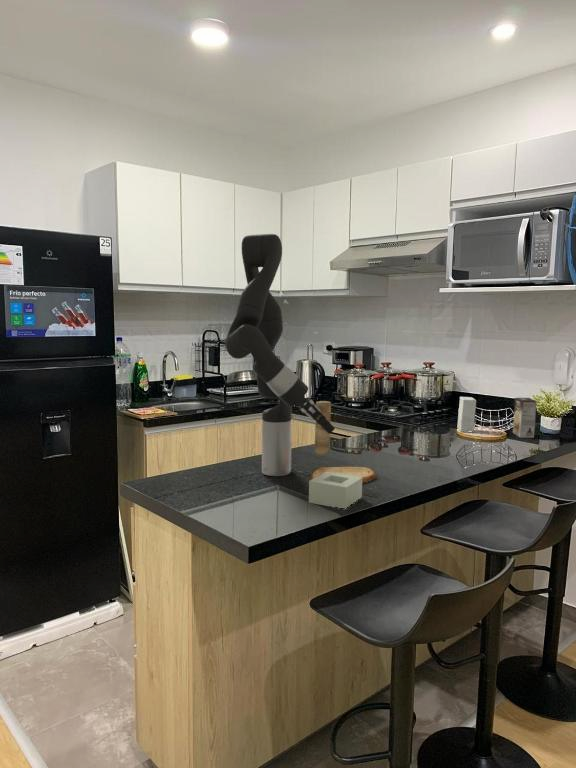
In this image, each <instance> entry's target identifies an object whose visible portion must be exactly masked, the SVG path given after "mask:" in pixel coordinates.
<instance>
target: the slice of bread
mask: <svg viewBox="0 0 576 768" xmlns="http://www.w3.org/2000/svg"><path fill="white" fill-rule="evenodd" d="M325 472H332V473H338V474H344V475H350V476H356V477H362V484H364V483H363V482H366V483H369V482H368V481H370V482H372V481H374V480H376V474H375V472H374V471H373V470H372V469H371V468H369V467H365V466H364V467H362V466H332V467H328V466H327V467H325V466H324V467H323V466H322V467H320V468H318V469H316V470H315V471H314V472H313V473H312V475H311V477H310V480H312V479H314V478H316V477H318V476H319V475H321V474H323V473H325ZM373 479H374V480H373ZM371 480H372V481H371Z"/></svg>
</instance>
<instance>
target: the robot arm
mask: <svg viewBox="0 0 576 768" xmlns="http://www.w3.org/2000/svg"><path fill="white" fill-rule="evenodd" d="M241 257H242V263H243V267H244V268H243V269H244V273H245V279H246V284H247V285H246V286H245V288H244V289H243V290H242V292H241V294H240V296H239V300H238V303H237V304H238V305H237V309H236V312H235V313H236V314H235V317H234V319H233V321H232V323H231V325H230V328H229V330H228V332H227V335H226V337H225V338H226V339H225V349H226V352H227V353H228V355H229V356H230V357H232V358H233V359H236V360H237V359H238V360H240V359H243V358H246V357H248V356H249V355H250V354H251V355H252V358H253V360H254V361H253V362H254V363H253V364H252V370H253V372H254V373H255V374H256V384H257V385H256V386H257V392H258V394H259V396H260V397H261V398H264V399H273V400H278V404H277V405H275V406H273V407H271V408H267V409H265V410H263V412H262V414H261V415H262V416H261V421H262V423H261V425H262V426H261V473H262V475H266V476H270V477H283V476H287V475H290V474H291V471H292V442H291V441H292V413H293V407H294V406H295V405H298V406H297V407H298V409H299V410H300V411H301V413H305V415H306V416H307V417H309V418H310V420H313V421H314V422H315V423H316V422H317V424H318V425H321V426H322V427H323V428H324V429H325V430H326V431H327V432H328V433H329V434H330V435H331V434H332V433H333V432H334V431H335V429H336V428H335V426H334V425H333V424H331V422H330V423H329V422H328V421H327V420H326V417H325V416H323V414H322V413H321V410H320V409H319V408H318V407H317V406H316V403H315V402H314V400H312V399H311V398H310V397H308V396H307V397H306V395H307V393H308V391H309V387H308V386H307V384H306V383H305V382H304V381H303V380H301V379H302V378H300V377H299V376H298V375H297V374H296V373H295V371H293V370H292V369H291V368H290V367H289V366H287V365H286V364H285V363H284V362H283V361H282V360H281V359H280V358H279V357H278V356H277V355H276V354H275V352H273V351H274V349H275V347H276V345H277V344H278V342H279V341H280V339H281V336H282V334H283V331H284V329H283V328H284V326H283V325H284V324H283V315H282V309H281V306H280V305H279V303H278V301H277V300H276V299H275V297H274V296H273V294H272V293H271V292H270V288H271V287H272V285H273V282H274V280H275V277H276V275H277V272H278V269H279V267H280V264H281V261H282V258H283V244H282V241H281V238H280V237H279V235H277V234H276V233H275V234H274V233H264V234H263V233H261V234H259V233H258V234H248V235H246V234H245V236H243V237H242V240H241ZM259 268H261V270H259ZM319 415H321V417H320V418H319V419H318V420H317V417H318V416H319Z"/></svg>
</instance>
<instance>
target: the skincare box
mask: <svg viewBox="0 0 576 768" xmlns="http://www.w3.org/2000/svg"><path fill="white" fill-rule="evenodd" d="M458 406H459V407H458V413H457V415H458V416H457V424H456V425H457V429H458V431H459V432H461V433H469V432H468V431H474V432H475V419H476V411H477V410H476V409H477V400H476V399H475V398H473V397H472V396H470V397H469V396H459V404H458Z"/></svg>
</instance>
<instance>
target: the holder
mask: <svg viewBox="0 0 576 768" xmlns="http://www.w3.org/2000/svg"><path fill="white" fill-rule="evenodd" d="M361 497H363V483H362V477H356V476H350V475H344V474H338V473H332V472H325V473H323V474H321V475H319V476H318V477H316V478H314V479H312V480H311V479H310V480H309V481H308V503H309V504H315V505H321V506H324V507H330V506H331V508H335V507H338V508H337V509H340V508H345V509H346V508H347V507H349V506H350V505H351V504H353V503H354V502H356V501H357V500H358V499H360V498H361ZM361 499H362V498H361ZM361 499H360V500H361ZM357 502H358V501H357ZM357 502H356V503H357ZM354 504H355V503H354ZM354 504H353V505H354ZM350 507H351V506H350ZM350 507H349V508H350ZM345 509H344V510H345ZM347 509H348V508H347ZM347 509H346V510H347Z"/></svg>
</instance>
